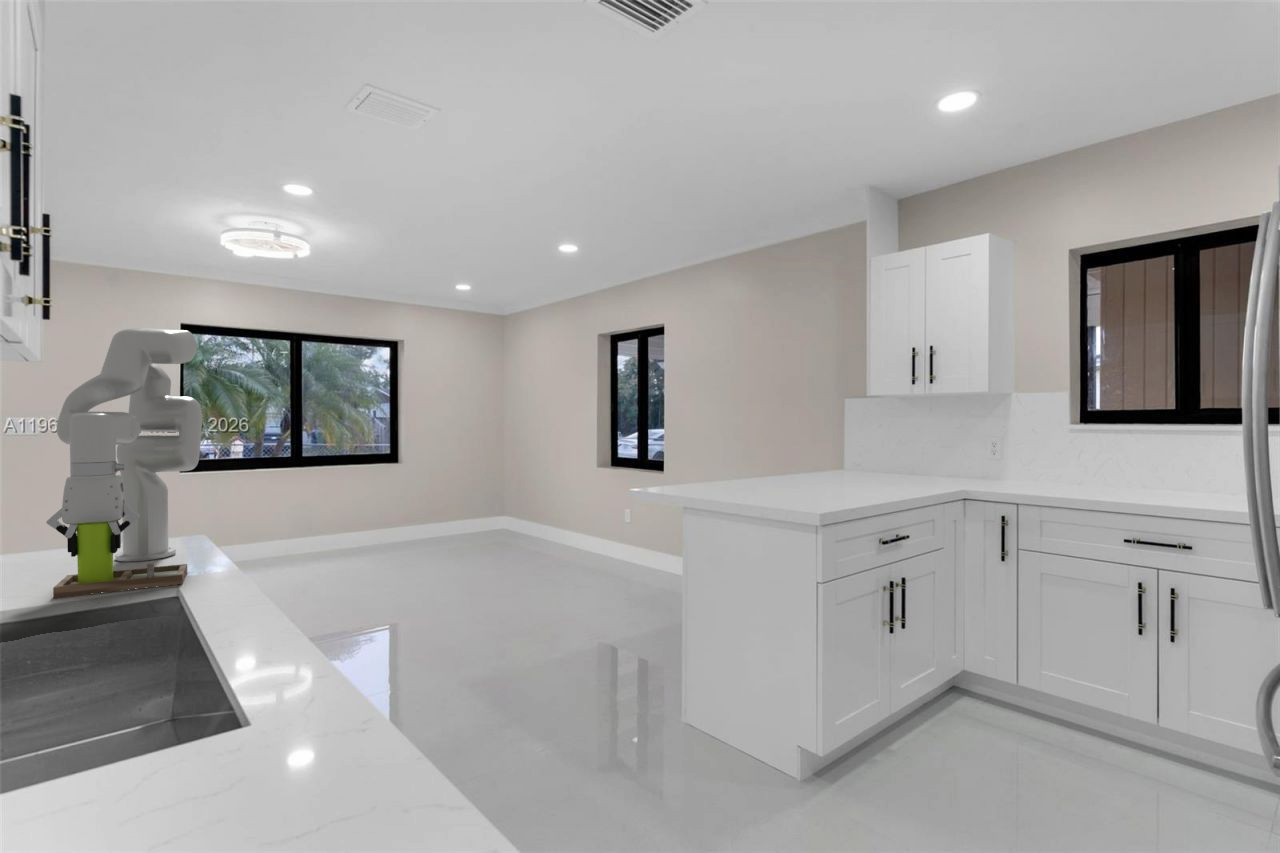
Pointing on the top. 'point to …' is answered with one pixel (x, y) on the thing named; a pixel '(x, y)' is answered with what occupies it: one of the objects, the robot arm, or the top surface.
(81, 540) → the soap dispenser
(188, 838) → the top surface
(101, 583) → the wooden divided tray
